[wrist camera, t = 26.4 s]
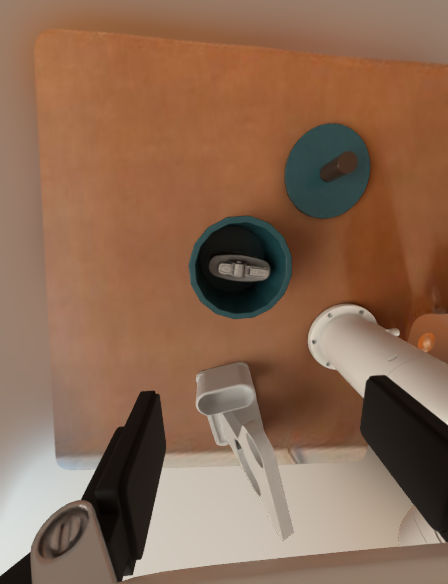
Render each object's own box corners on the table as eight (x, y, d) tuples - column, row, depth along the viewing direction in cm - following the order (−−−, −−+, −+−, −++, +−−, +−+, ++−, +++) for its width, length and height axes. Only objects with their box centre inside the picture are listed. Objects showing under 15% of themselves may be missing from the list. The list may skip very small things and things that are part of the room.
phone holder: (193, 371, 42) (181, 468, 24) (247, 357, 42) (273, 445, 24) (217, 444, 46) (220, 572, 28) (265, 432, 46) (299, 552, 28)
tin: (266, 219, 36) (291, 212, 25) (268, 291, 39) (292, 314, 28) (192, 225, 35) (183, 220, 24) (199, 297, 38) (195, 322, 27)
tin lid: (368, 124, 33) (402, 100, 27) (361, 215, 36) (391, 211, 30) (282, 130, 33) (298, 106, 27) (283, 221, 36) (297, 218, 30)
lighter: (208, 269, 37) (207, 281, 27) (210, 248, 36) (210, 253, 26) (257, 274, 37) (273, 288, 28) (260, 254, 37) (277, 260, 27)
